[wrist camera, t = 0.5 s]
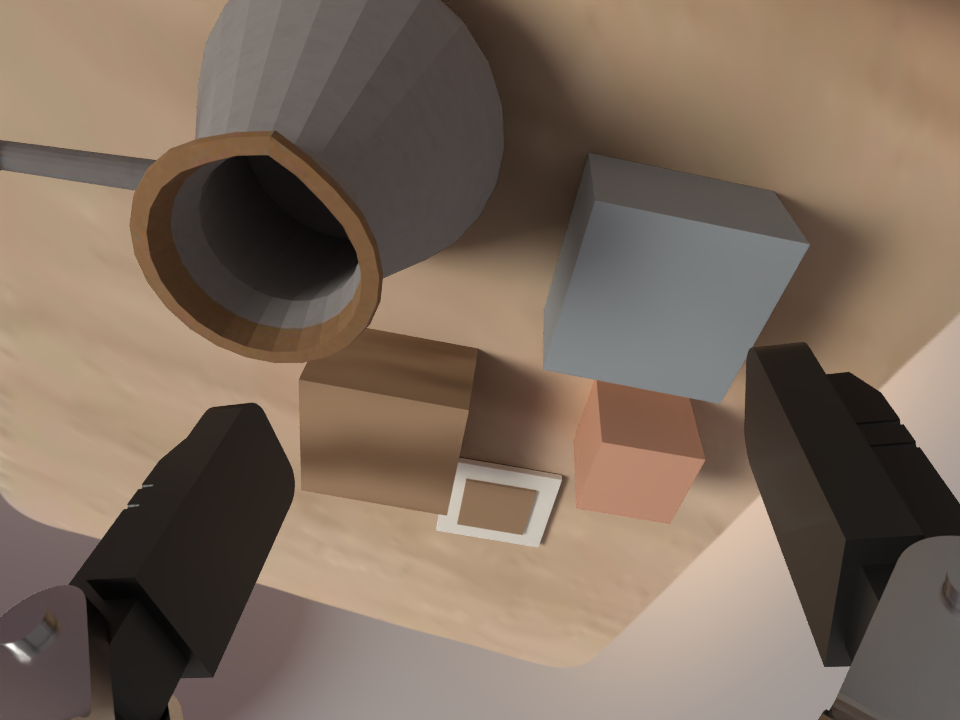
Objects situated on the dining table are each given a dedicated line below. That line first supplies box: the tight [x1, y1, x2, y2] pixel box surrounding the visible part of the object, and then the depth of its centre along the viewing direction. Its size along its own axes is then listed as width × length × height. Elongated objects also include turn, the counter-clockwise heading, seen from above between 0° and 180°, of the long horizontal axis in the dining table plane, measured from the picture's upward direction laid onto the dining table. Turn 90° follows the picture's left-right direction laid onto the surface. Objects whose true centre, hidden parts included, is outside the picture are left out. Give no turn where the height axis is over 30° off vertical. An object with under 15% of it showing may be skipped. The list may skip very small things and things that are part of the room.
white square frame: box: [436, 458, 562, 547], centre depth 40 cm, size 7×7×1 cm
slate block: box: [543, 153, 810, 404], centre depth 27 cm, size 8×8×5 cm
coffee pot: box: [0, 0, 504, 363], centre depth 20 cm, size 21×12×15 cm, turn 72°
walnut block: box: [299, 328, 478, 516], centre depth 34 cm, size 8×8×5 cm
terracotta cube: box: [574, 380, 705, 524], centre depth 33 cm, size 5×5×5 cm
